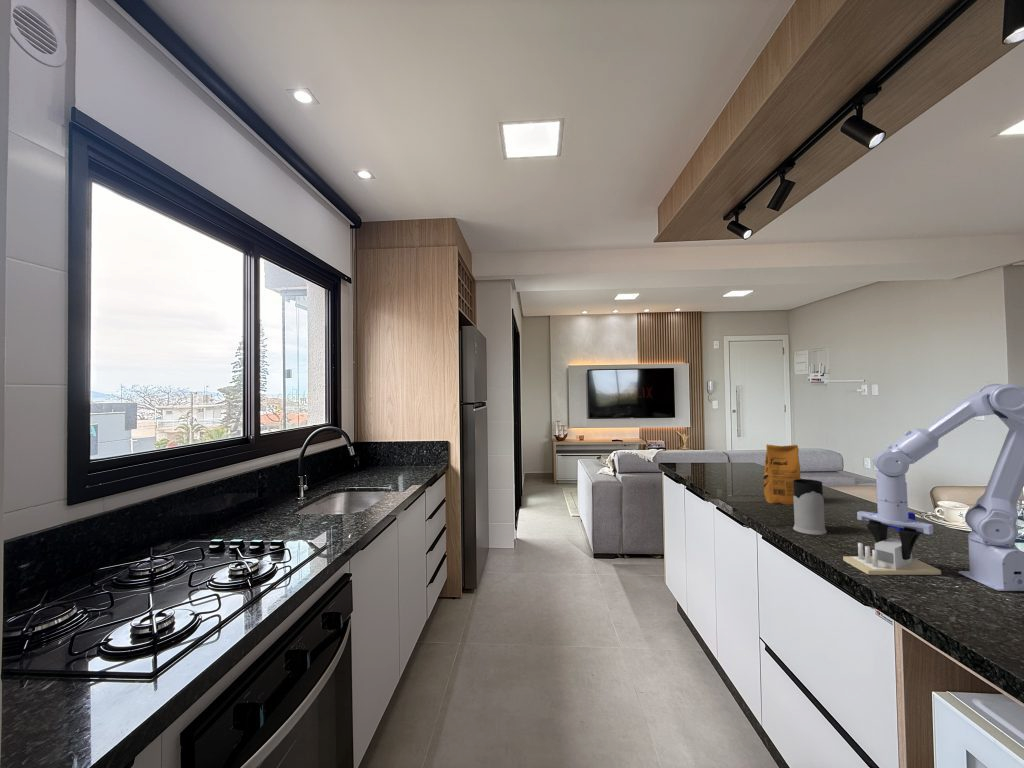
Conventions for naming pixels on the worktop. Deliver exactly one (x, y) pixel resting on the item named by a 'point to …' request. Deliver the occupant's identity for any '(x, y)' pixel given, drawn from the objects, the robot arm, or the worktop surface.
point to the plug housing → (891, 554)
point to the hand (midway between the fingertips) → (894, 555)
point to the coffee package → (781, 473)
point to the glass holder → (809, 507)
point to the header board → (872, 568)
